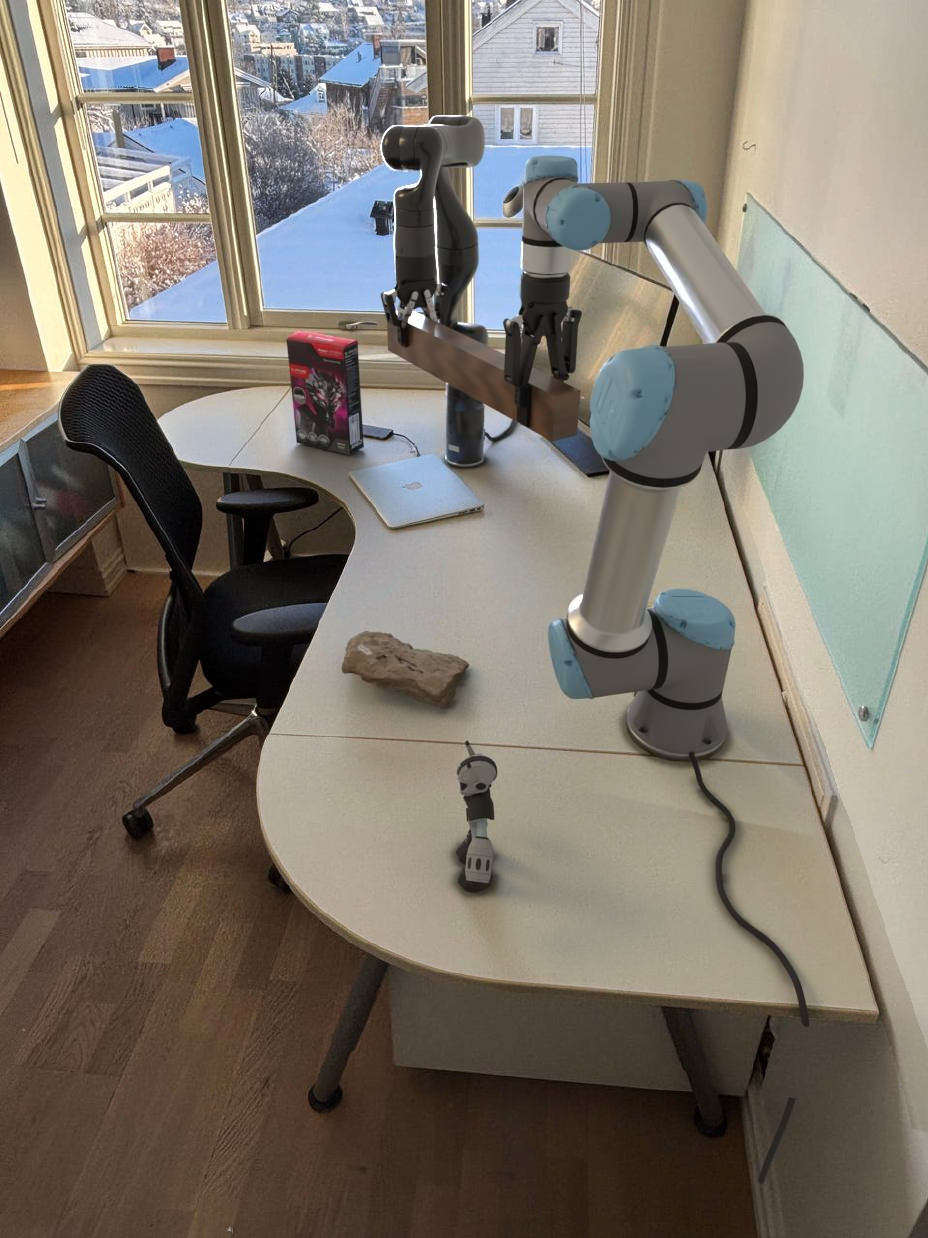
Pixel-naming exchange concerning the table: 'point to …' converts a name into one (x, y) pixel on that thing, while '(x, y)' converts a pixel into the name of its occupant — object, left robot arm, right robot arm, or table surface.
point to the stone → (404, 667)
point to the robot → (476, 819)
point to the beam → (486, 376)
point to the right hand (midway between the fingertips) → (537, 420)
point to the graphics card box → (326, 391)
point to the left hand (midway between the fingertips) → (416, 343)
